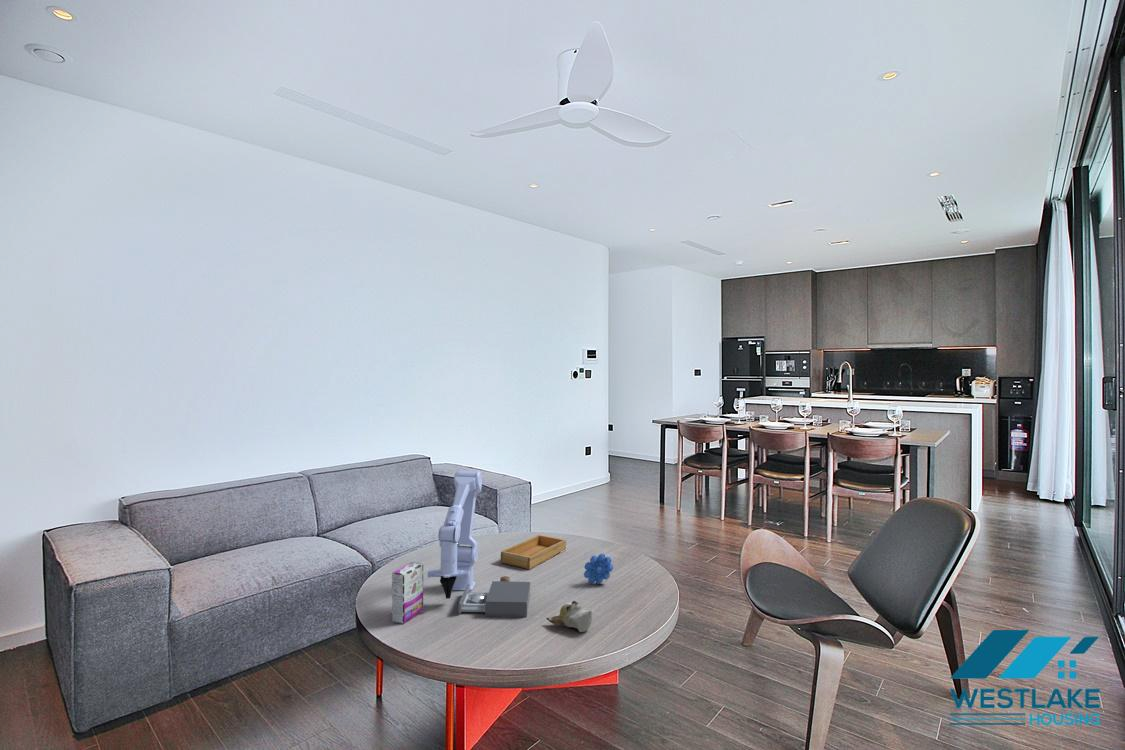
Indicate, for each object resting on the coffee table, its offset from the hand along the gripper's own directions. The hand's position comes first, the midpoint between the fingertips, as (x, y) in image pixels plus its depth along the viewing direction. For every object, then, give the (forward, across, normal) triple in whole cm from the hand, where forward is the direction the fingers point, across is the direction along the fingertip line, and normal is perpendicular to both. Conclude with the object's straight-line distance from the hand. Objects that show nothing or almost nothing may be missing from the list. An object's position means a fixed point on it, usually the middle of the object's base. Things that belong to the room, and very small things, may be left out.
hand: (448, 597), depth 193 cm
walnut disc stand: (+2, +18, +15) cm, 24 cm away
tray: (+3, +28, +52) cm, 59 cm away
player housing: (+2, +22, 0) cm, 22 cm away
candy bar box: (+3, -12, -10) cm, 15 cm away
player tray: (+2, +12, 0) cm, 12 cm away
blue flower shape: (+3, +54, +22) cm, 59 cm away
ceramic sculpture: (+3, +44, -15) cm, 47 cm away
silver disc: (+1, +10, 0) cm, 11 cm away
